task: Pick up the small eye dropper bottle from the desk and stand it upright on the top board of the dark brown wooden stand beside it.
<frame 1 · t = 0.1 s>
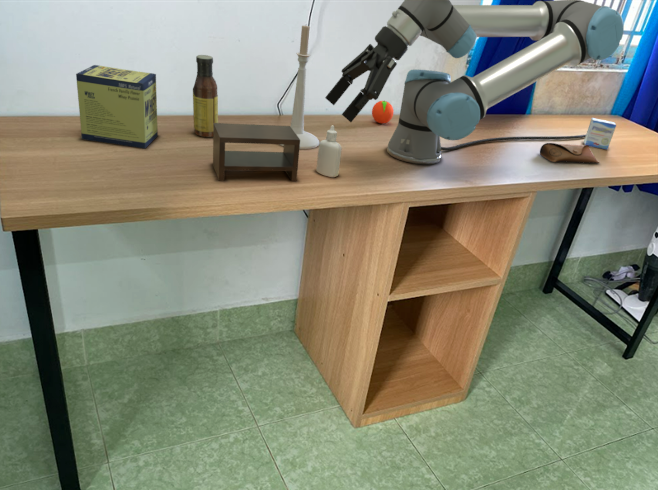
hand: (337, 109, 145), 15 cm above the table, tool tilted 35°, fingers open, 13 cm apart
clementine: (381, 124, 197), on the table
medicine box: (595, 146, 211), on the table
protein box: (121, 138, 152), on the table
eye dropper bottle: (327, 174, 152), on the table
sunglasses case: (569, 159, 193), on the table
candlestick: (295, 141, 170), on the table
sauce bottle: (205, 135, 164), on the table
dark brown wooden stand: (254, 172, 145), on the table
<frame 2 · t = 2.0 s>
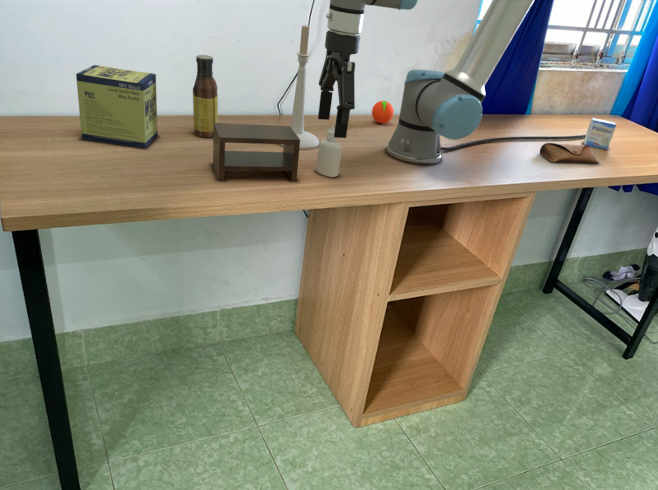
hand: (331, 128, 145), 11 cm above the table, tool pointing down, fingers open, 13 cm apart
nothing on the table moved.
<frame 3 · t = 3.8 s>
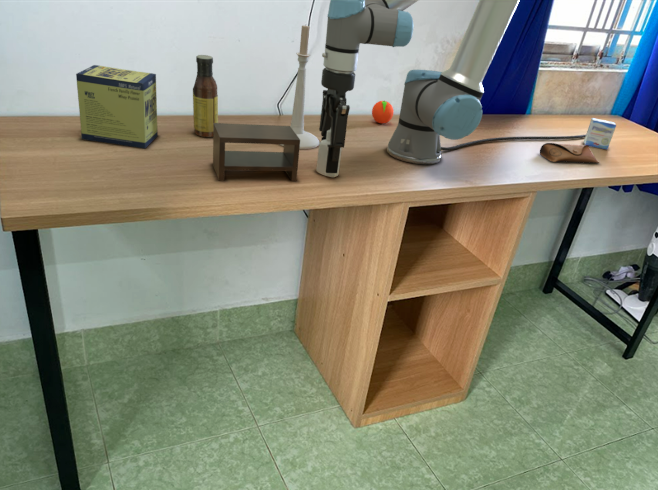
hand: (327, 167, 151), 2 cm above the table, tool pointing down, fingers closed on eye dropper bottle, 5 cm apart
eye dropper bottle: (327, 174, 152), on the table, touching gripper
everything else where it was.
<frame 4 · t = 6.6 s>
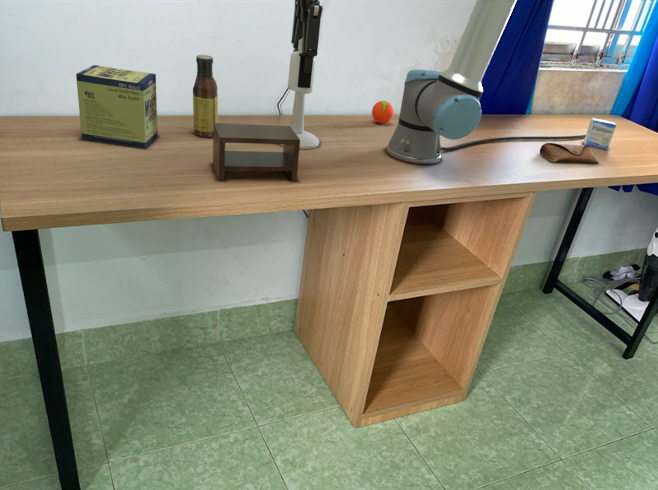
hand: (300, 83, 137), 21 cm above the table, tool pointing down, fingers closed on eye dropper bottle, 5 cm apart
eye dropper bottle: (299, 91, 138), point 19 cm above the table, touching gripper
everything else where it was.
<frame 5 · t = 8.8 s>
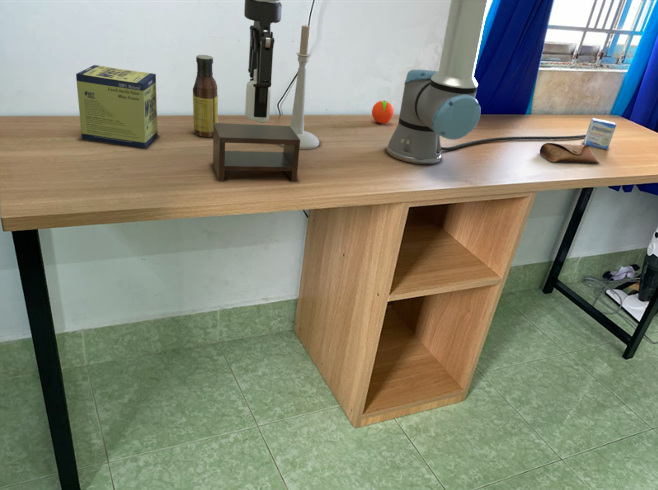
hand: (257, 112, 138), 14 cm above the table, tool pointing down, fingers closed on eye dropper bottle, 5 cm apart
eye dropper bottle: (256, 120, 139), point 13 cm above the table, touching gripper
everything else where it was.
when the fingers open (12 cm above the table, at t = 9.9 s): eye dropper bottle stays where it is, resting on dark brown wooden stand.
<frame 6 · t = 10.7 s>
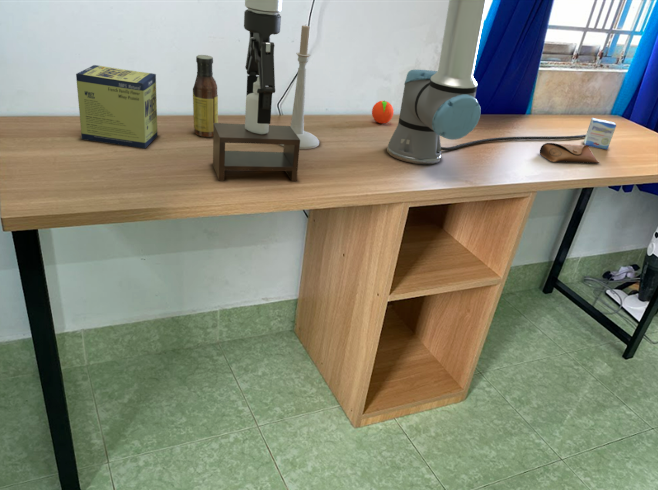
hand: (257, 113, 138), 14 cm above the table, tool pointing down, fingers open, 13 cm apart
eye dropper bottle: (256, 132, 140), point 10 cm above the table, touching dark brown wooden stand
everything else where it was.
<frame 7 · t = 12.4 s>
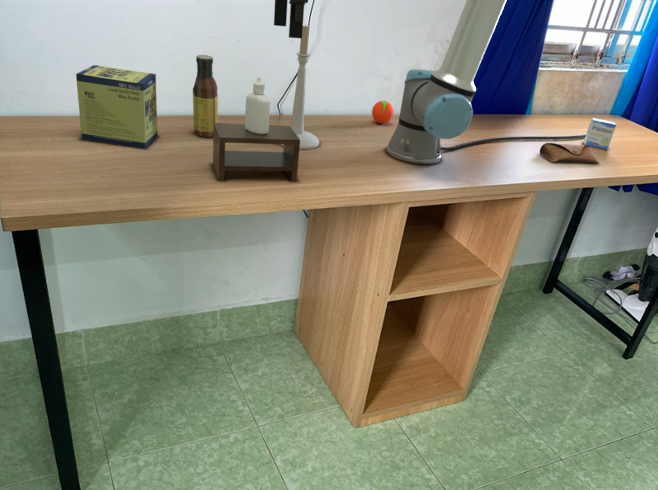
hand: (287, 31, 136), 31 cm above the table, tool pointing down, fingers open, 13 cm apart
nothing on the table moved.
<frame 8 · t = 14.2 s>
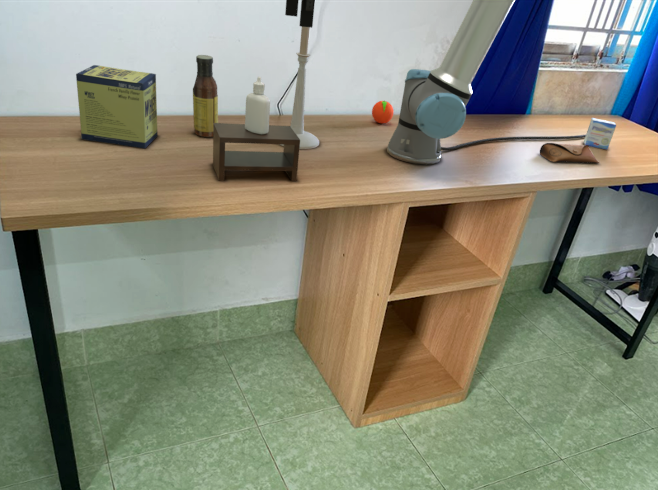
hand: (298, 21, 139), 33 cm above the table, tool pointing down, fingers open, 13 cm apart
nothing on the table moved.
at the end: eye dropper bottle inside the target area on the dark brown wooden stand (0.0 cm from its centre), point 9.8 cm above the dark brown wooden stand's base; eye dropper bottle tilted 0°; the gripper is holding nothing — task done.
